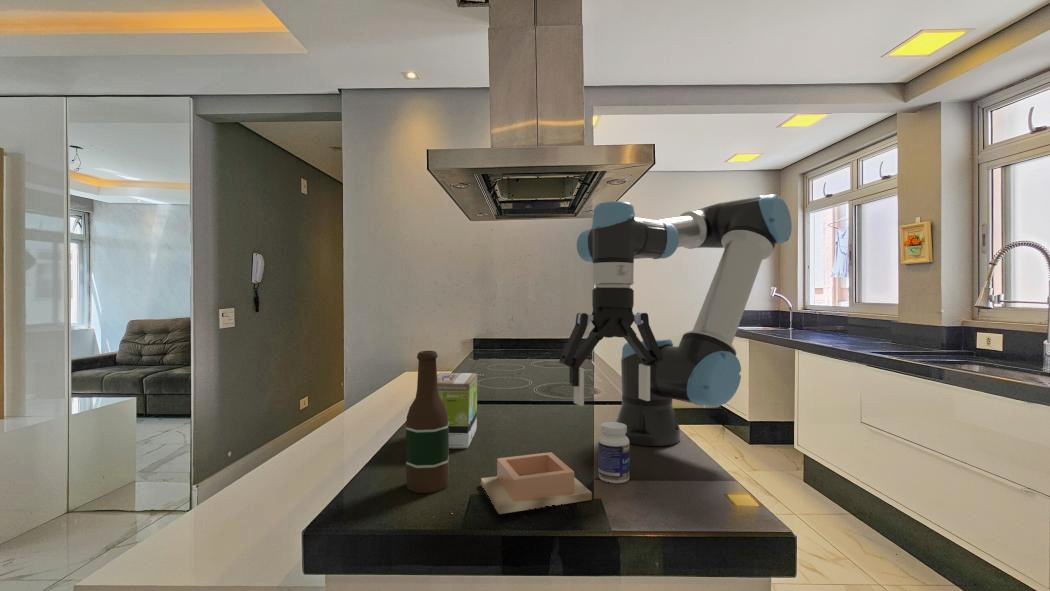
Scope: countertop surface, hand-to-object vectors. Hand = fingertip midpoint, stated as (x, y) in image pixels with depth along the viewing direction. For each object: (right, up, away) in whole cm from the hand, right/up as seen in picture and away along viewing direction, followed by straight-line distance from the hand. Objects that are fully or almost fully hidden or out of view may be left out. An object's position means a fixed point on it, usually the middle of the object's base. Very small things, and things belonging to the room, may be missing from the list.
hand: (612, 402), depth 88 cm
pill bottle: (0, -14, 0) cm, 14 cm away
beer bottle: (-33, -15, -3) cm, 37 cm away
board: (-14, -14, -6) cm, 21 cm away
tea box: (-33, -15, +25) cm, 44 cm away
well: (-14, -13, -6) cm, 20 cm away
